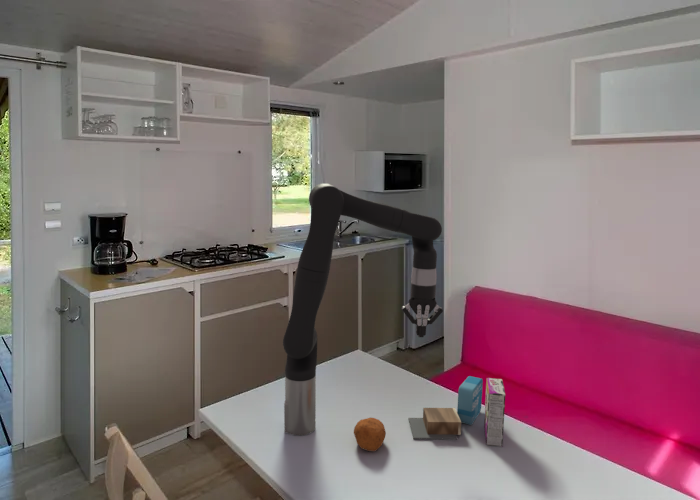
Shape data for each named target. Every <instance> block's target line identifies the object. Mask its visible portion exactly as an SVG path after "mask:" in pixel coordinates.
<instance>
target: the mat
mask: <svg viewBox="0 0 700 500" xmlns="http://www.w3.org/2000/svg"><path fill="white" fill-rule="evenodd" d="M408 423H409V428H410V433H411V435H412V438H413V440H420V441H421V440H425V441H426V440H427V441H429V440H430V441H433V440H435V441H436V440H438V441H441V440H442V441H449V440H450V441H451V440H452V441H457V440H458V436H457V435H451V434H427V431H426V428H425V425H424V421H423V417H408Z"/></svg>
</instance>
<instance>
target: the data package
mask: <svg viewBox="0 0 700 500" xmlns="http://www.w3.org/2000/svg"><path fill="white" fill-rule="evenodd" d="M483 383H484V381H483V378H482V377H481V378H480V377H475V376H471V375H469V376H467V377H466V379H464V381H463V382H462V383H461V384H460V385H459V387H458V392H457V409H456V411H457V414H458V416H459V418H460V420H461V424H465V425H469V426H471V425H473V424H474V422H475V421H476V419H477V417H479V414H480V413H481V410H482V399H483V387H484V386H483V385H484V384H483Z"/></svg>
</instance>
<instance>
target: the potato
mask: <svg viewBox="0 0 700 500" xmlns="http://www.w3.org/2000/svg"><path fill="white" fill-rule="evenodd" d="M386 434H387V432H386V428H385V426H384V424H383V422H382V421H381V420H379V419H377V418H375V417H367V418H363V419H360V420H359V421H358V422H357V423H356V424H355V426H354V428H353V436H354V437H355V441H356V443H357V445H358V446H359V447H360V449H362V450H365V451H367V452H376V451H377V450H378V449H379V448H381V447H382V445H383V443H384V441H385V438H386Z"/></svg>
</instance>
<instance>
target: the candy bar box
mask: <svg viewBox="0 0 700 500" xmlns="http://www.w3.org/2000/svg"><path fill="white" fill-rule="evenodd" d="M484 400H485V401H484V423H483V427H484V428H483V429H484V436H485V445H486V446H490V447H491V446H492V447H499V448H500V447H501V448H502V447H503V440H504V426H505V412H506V411H505V410H506V409H505V408H506V391H505V385H504V381H503V379H502V378H494V377H493V378H492V377H486V383H485V399H484Z"/></svg>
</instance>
